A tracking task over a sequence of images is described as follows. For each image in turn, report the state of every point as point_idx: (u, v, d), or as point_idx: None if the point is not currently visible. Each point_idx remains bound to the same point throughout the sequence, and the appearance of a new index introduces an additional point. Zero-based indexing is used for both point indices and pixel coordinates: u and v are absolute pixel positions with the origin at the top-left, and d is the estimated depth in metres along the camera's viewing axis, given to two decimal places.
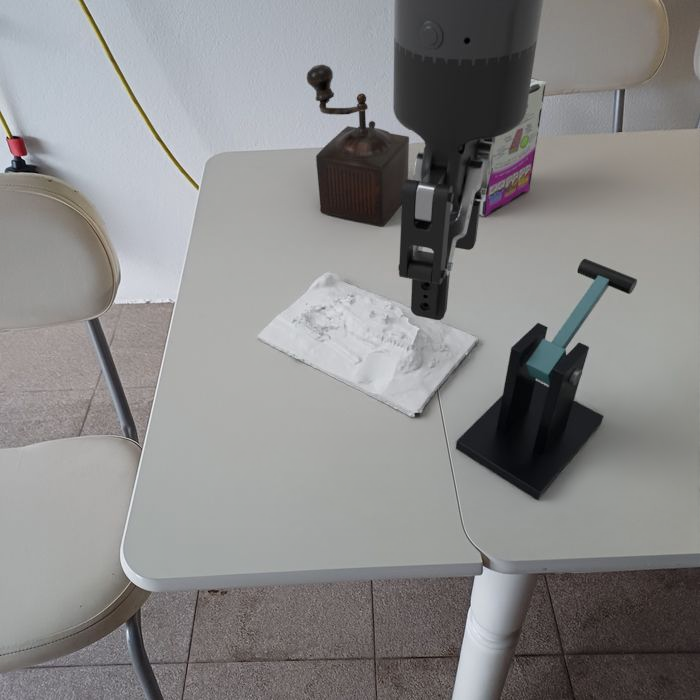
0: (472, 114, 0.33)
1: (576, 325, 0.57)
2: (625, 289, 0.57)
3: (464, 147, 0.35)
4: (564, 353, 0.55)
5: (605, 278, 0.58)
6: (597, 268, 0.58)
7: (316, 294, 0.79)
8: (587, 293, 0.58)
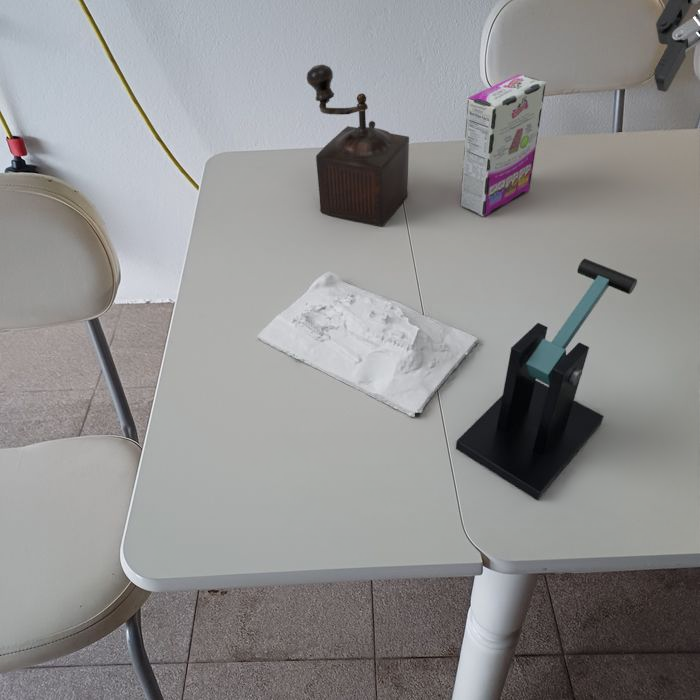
0: None
1: (576, 325, 0.57)
2: (625, 289, 0.57)
3: None
4: (564, 353, 0.55)
5: (605, 278, 0.58)
6: (597, 268, 0.58)
7: (316, 294, 0.79)
8: (587, 293, 0.58)
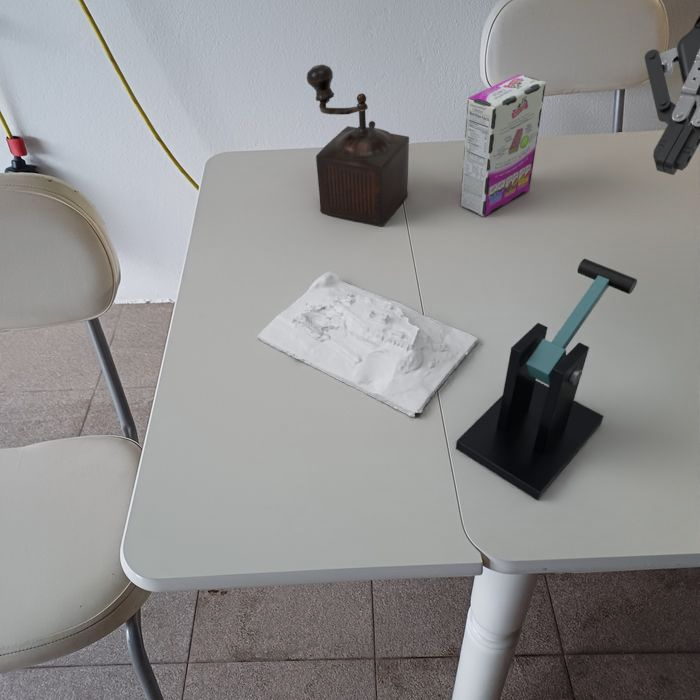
0: None
1: (576, 325, 0.57)
2: (625, 289, 0.57)
3: None
4: (564, 353, 0.55)
5: (605, 278, 0.58)
6: (597, 268, 0.58)
7: (316, 294, 0.79)
8: (587, 293, 0.58)
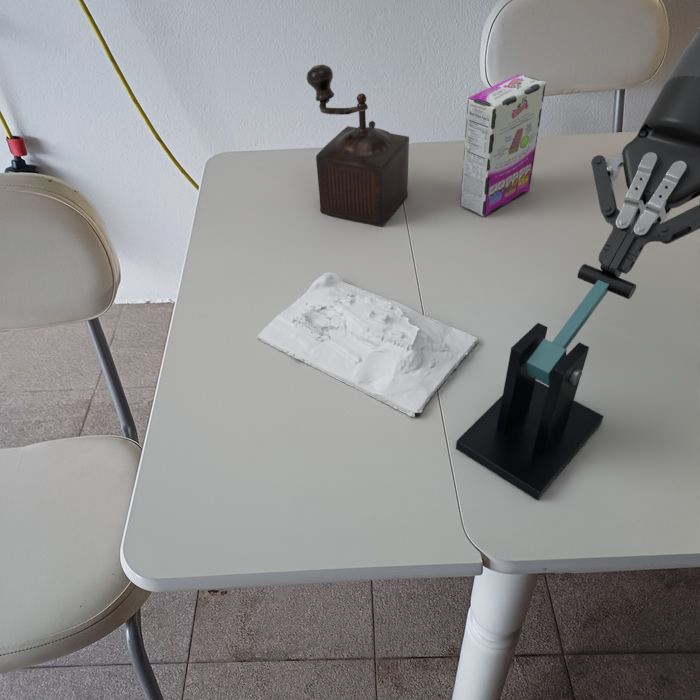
0: (650, 111, 0.58)
1: (576, 327, 0.57)
2: (625, 294, 0.58)
3: (645, 137, 0.58)
4: (564, 353, 0.55)
5: (605, 283, 0.58)
6: (597, 273, 0.59)
7: (316, 294, 0.79)
8: (587, 296, 0.58)
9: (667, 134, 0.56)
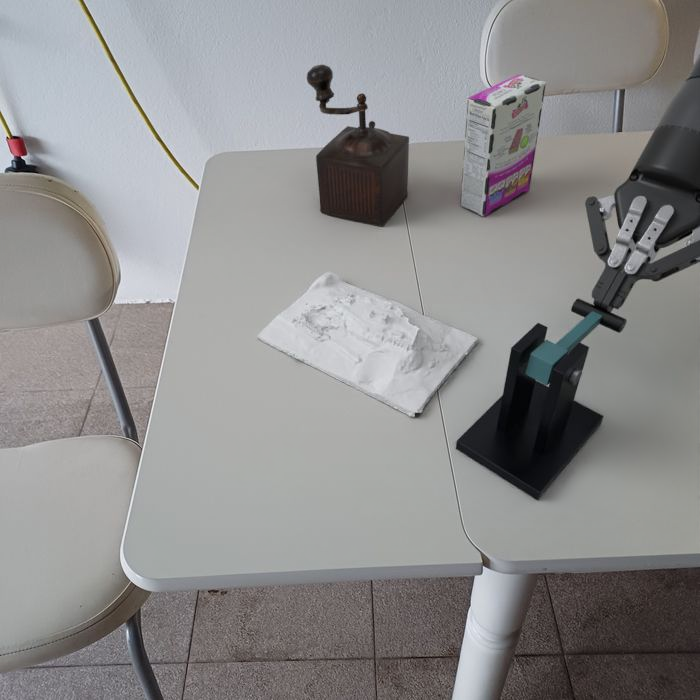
0: (640, 156, 0.61)
1: (575, 339, 0.58)
2: (617, 325, 0.61)
3: (636, 180, 0.61)
4: (566, 354, 0.56)
5: (599, 314, 0.62)
6: (592, 305, 0.62)
7: (316, 294, 0.79)
8: (583, 320, 0.61)
9: (657, 178, 0.60)
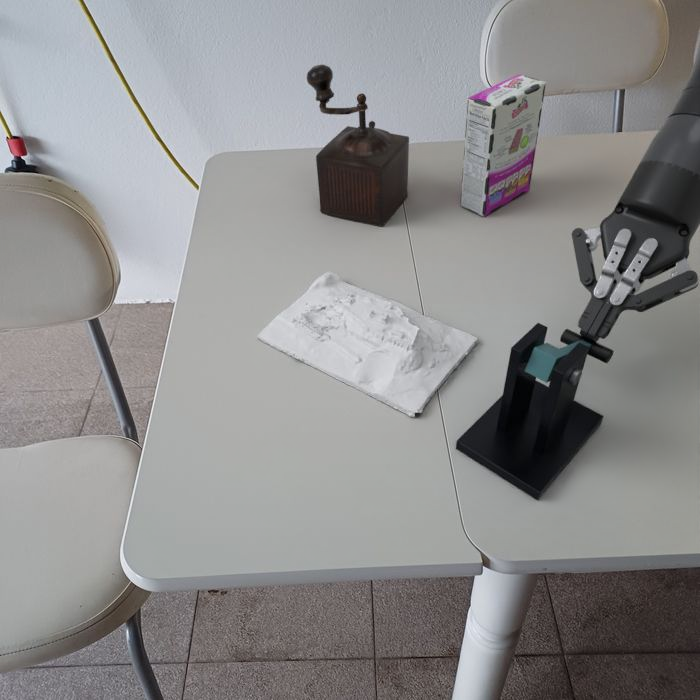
0: (625, 189, 0.62)
1: None
2: (605, 354, 0.62)
3: (621, 213, 0.63)
4: None
5: (588, 343, 0.63)
6: (581, 335, 0.64)
7: (316, 294, 0.79)
8: (575, 343, 0.62)
9: (641, 212, 0.61)
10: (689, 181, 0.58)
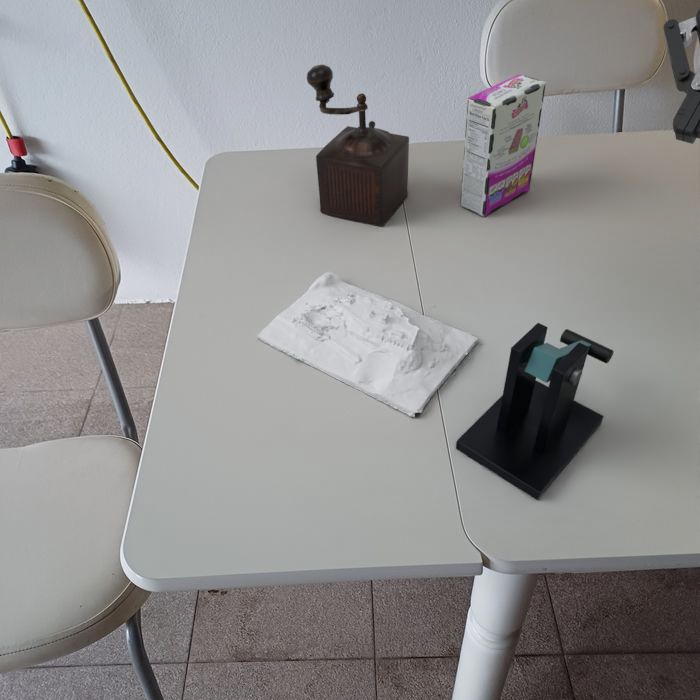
0: None
1: None
2: (605, 354, 0.62)
3: None
4: None
5: (588, 343, 0.63)
6: (580, 335, 0.64)
7: (316, 294, 0.79)
8: (575, 343, 0.62)
9: None
10: None
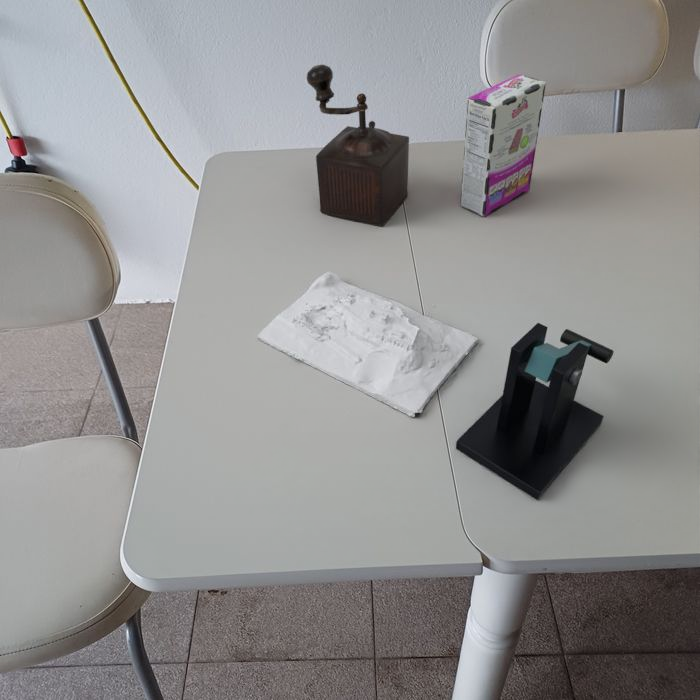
0: None
1: None
2: (605, 354, 0.62)
3: None
4: None
5: (588, 343, 0.63)
6: (580, 335, 0.64)
7: (316, 294, 0.79)
8: (575, 343, 0.62)
9: None
10: None
